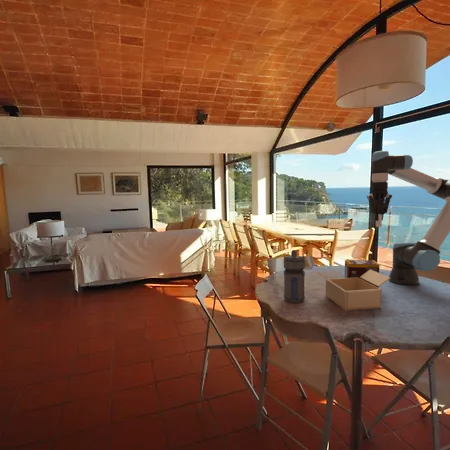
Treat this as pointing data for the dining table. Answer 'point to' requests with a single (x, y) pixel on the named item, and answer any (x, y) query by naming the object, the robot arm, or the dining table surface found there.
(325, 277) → the flap
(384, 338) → the dining table surface
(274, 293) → the dining table surface
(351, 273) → the supplement box
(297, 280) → the beverage bottle
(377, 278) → the flap
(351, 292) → the carton
